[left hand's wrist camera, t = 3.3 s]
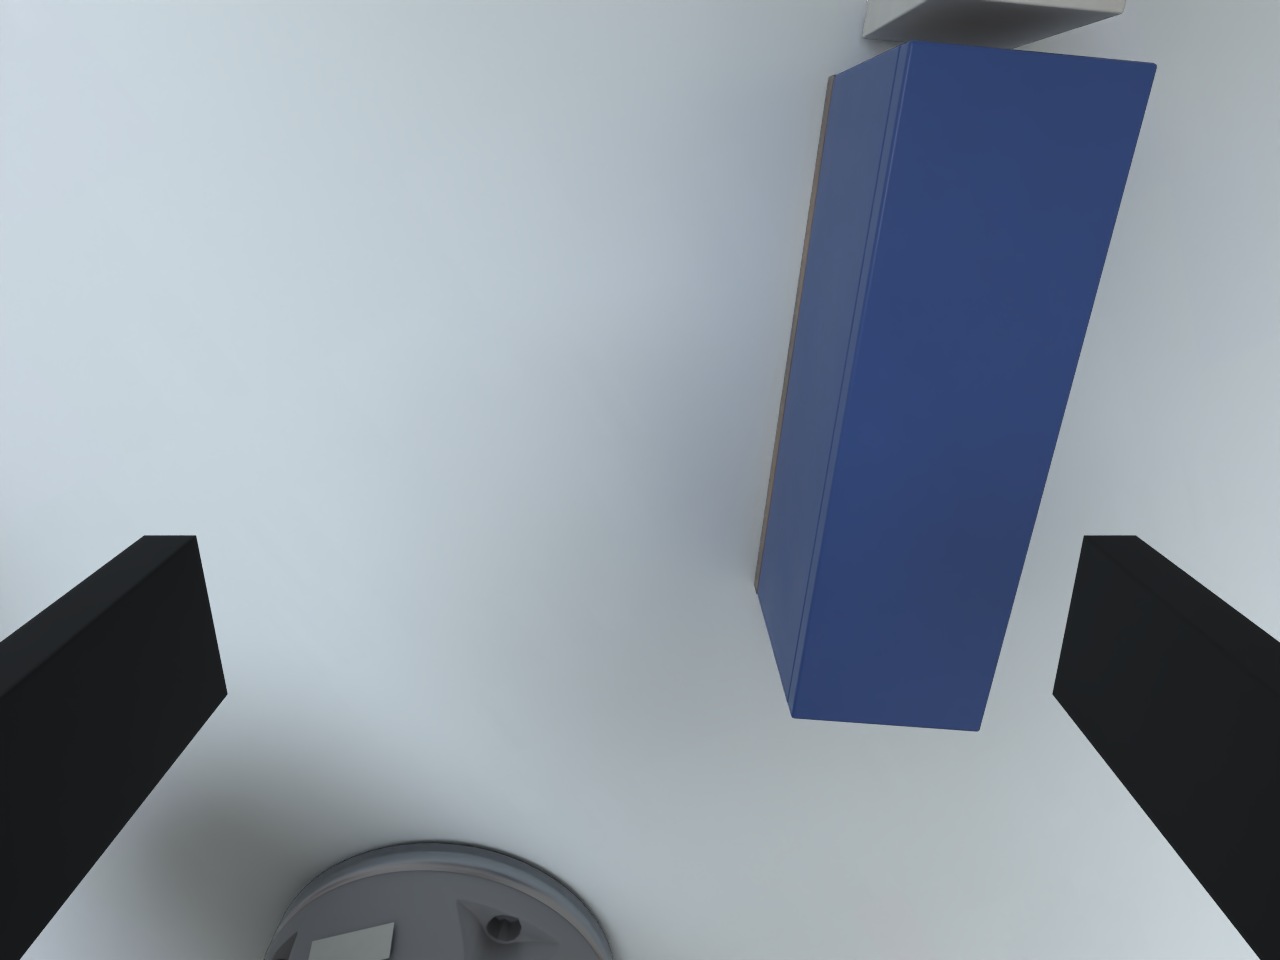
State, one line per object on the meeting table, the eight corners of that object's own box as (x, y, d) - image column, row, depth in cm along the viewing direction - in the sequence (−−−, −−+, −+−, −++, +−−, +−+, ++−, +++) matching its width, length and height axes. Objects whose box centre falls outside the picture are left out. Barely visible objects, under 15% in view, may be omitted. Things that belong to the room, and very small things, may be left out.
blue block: (828, 77, 25) (909, 38, 18) (1004, 93, 26) (1160, 62, 18) (754, 584, 31) (790, 719, 24) (897, 595, 31) (980, 733, 24)
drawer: (909, -268, 22) (1012, -433, 16) (1067, -251, 22) (1229, -408, 16) (786, 514, 29) (824, 603, 23) (904, 523, 30) (972, 615, 23)
